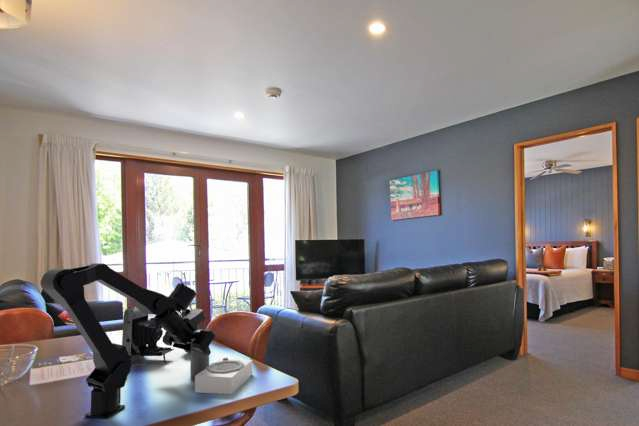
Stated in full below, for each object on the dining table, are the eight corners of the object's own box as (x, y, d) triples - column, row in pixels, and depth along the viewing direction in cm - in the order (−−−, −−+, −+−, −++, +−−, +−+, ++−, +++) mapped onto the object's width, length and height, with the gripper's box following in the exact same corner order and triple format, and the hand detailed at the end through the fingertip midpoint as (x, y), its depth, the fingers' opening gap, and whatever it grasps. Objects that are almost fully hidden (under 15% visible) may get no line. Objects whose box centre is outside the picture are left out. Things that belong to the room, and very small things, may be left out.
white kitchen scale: (231, 394, 104) (231, 375, 104) (195, 392, 106) (195, 373, 106) (252, 374, 120) (252, 358, 120) (220, 373, 122) (220, 356, 122)
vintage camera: (158, 368, 130) (162, 309, 132) (119, 364, 133) (123, 307, 135) (174, 360, 139) (177, 305, 141) (138, 357, 142) (141, 303, 144)
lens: (203, 380, 115) (204, 333, 116) (186, 379, 116) (186, 332, 117) (212, 374, 121) (212, 329, 122) (195, 373, 122) (196, 328, 123)
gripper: (210, 303, 112) (237, 333, 121) (171, 299, 122) (198, 327, 131) (188, 336, 105) (218, 365, 113) (148, 329, 115) (178, 357, 123)
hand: (203, 352), depth 120 cm, fingers closed on lens, 6 cm apart
